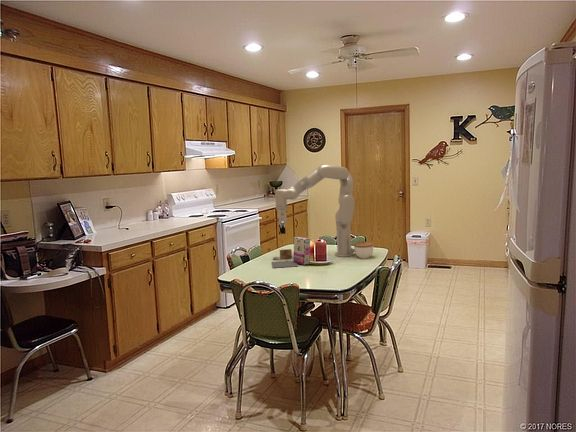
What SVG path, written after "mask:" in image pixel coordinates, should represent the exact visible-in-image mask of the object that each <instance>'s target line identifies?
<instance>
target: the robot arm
mask: <svg viewBox="0 0 576 432" xmlns="http://www.w3.org/2000/svg"><path fill="white" fill-rule="evenodd" d="M324 179H332V180H339V183H340V187H339V195H338V204H339V208H338V210H337V211H336V213H335V217H334V218H335V225H336V227H335V228H336V251H337V252H335V254H334V255H335V256H336V257H341V258H342V257H345V258H346V257H352V256H354V254H355V250H354V248H353V247H352V235H351V234H352V233H351V231H352V230H351V222H352V220H353V217H354V211H355V210H354V209H355V198H354V196H353V191H354V190H353V189H354V179H353V177H352V175H351V173H350V172H349V169H348V168H346V166H338V165H331V164H326V163H325V164H321V165H319V166H317V167H315V169H313V170H312V171H311V172H309V173H308V174H307V175H305V176H304V177H302V178H301V179H300V180H299V181H297V182H296V183H294V184H293V185H291V186H290V187H289V188H287V189H284V188H278V189H277V188H276V190H274V193H275V194H274V196H275V211H277V217H278V218H277V219H278V223H279V231H280V234H281V235H286V233H287V232H286V225H287V224H288V223H287V222H288V220H287V210H288V202H287V201H288V200H289V201H290V200H291V201H293V200H296V199H297V198H298V197H299V195H301V194H302V193H303V192H304V191H306V190H308V189H310V188H313V187H314V186H316V185H317V184H319V183H320V182H322V181H323V180H324Z"/></svg>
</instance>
